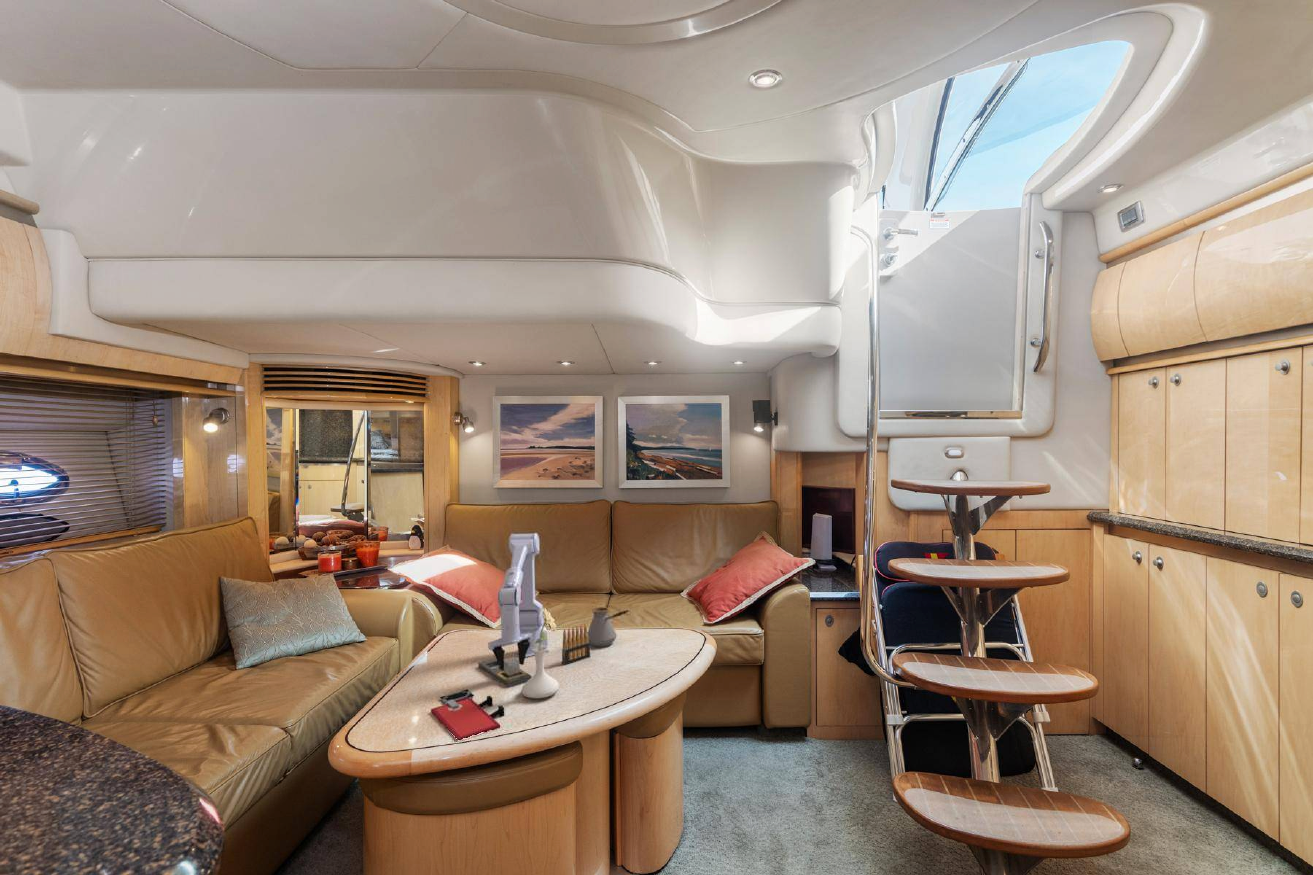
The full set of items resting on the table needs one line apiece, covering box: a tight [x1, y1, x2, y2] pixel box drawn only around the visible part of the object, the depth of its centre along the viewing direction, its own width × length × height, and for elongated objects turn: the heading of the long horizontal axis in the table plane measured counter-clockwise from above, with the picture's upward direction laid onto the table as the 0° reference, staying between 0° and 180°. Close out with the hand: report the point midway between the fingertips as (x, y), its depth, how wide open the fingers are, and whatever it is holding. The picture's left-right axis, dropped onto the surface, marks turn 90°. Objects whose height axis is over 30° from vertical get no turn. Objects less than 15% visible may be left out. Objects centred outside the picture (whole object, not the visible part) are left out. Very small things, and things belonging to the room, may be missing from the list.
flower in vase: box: [521, 607, 561, 699], centre depth 182 cm, size 13×11×25 cm
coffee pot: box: [587, 606, 632, 648], centre depth 223 cm, size 21×12×15 cm, turn 47°
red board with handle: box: [430, 689, 505, 741], centre depth 170 cm, size 30×3×15 cm
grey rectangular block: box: [503, 656, 521, 678], centre depth 194 cm, size 4×4×6 cm
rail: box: [477, 657, 533, 689], centre depth 199 cm, size 8×24×2 cm, turn 38°
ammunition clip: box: [561, 622, 591, 666], centre depth 209 cm, size 11×2×12 cm, turn 133°
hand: (511, 666), depth 194 cm, fingers open, 6 cm apart
